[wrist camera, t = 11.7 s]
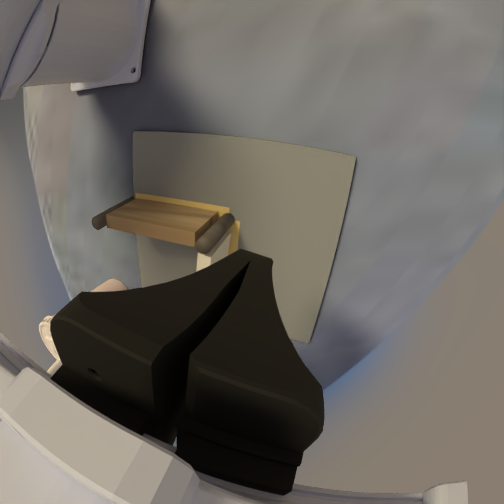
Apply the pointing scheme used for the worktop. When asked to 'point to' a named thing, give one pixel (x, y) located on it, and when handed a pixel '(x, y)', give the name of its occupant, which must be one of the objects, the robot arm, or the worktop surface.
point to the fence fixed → (167, 222)
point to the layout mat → (249, 209)
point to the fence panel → (214, 252)
